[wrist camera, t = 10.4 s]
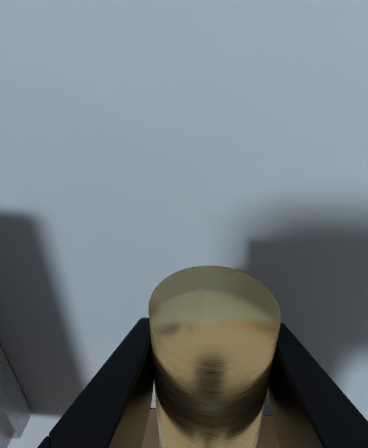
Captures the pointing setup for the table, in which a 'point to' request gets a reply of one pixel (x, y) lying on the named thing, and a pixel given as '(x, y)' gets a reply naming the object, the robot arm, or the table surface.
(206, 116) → the table surface
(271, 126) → the table surface
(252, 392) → the axle
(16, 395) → the v block
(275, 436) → the brown notched block
